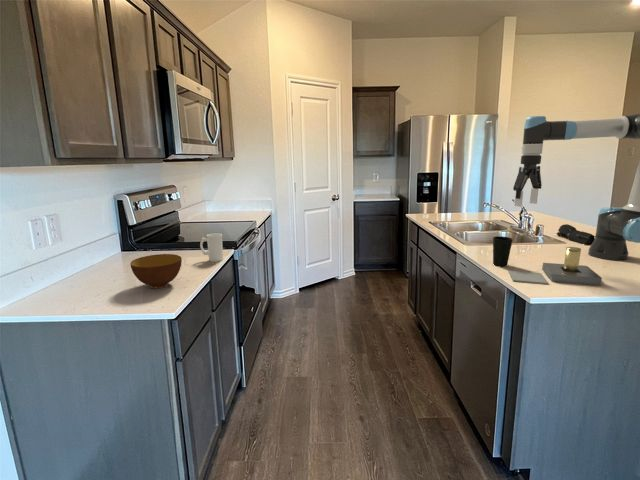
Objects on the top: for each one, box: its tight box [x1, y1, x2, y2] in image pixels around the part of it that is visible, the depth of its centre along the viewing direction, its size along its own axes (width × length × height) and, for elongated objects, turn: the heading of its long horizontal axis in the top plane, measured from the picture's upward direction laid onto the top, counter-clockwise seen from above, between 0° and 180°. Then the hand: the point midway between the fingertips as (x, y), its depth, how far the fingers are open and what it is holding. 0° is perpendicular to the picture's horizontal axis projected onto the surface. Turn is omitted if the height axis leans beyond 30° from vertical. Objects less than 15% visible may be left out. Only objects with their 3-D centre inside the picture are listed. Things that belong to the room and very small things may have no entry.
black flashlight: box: [556, 223, 596, 246], centre depth 213 cm, size 7×25×8 cm, turn 9°
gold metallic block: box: [563, 246, 582, 272], centre depth 151 cm, size 5×5×12 cm
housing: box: [541, 262, 603, 286], centre depth 152 cm, size 16×16×3 cm
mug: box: [199, 232, 224, 263], centre depth 178 cm, size 10×7×12 cm, turn 98°
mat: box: [508, 270, 549, 285], centre depth 152 cm, size 12×12×1 cm
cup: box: [492, 235, 514, 268], centre depth 168 cm, size 8×8×12 cm
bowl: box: [129, 253, 183, 289], centre depth 145 cm, size 18×18×10 cm
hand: (525, 204), depth 168 cm, fingers open, 13 cm apart
